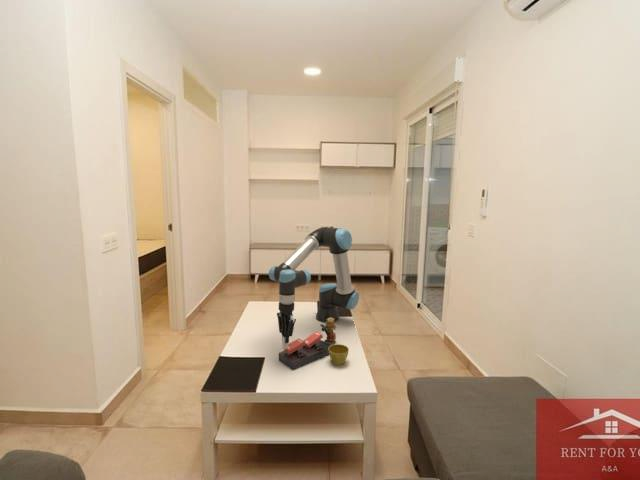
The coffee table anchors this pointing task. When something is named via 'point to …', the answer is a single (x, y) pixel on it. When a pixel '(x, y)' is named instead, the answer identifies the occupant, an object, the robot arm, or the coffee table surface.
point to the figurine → (329, 331)
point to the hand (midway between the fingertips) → (285, 348)
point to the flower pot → (338, 353)
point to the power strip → (305, 355)
